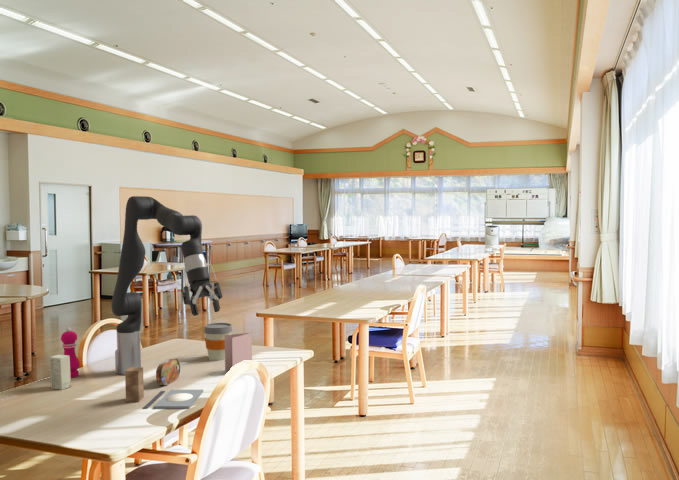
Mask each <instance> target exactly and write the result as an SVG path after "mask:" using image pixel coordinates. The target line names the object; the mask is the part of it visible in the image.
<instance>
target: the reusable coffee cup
mask: <svg viewBox="0 0 679 480" xmlns="http://www.w3.org/2000/svg"><path fill="white" fill-rule="evenodd" d="M203 332H204V336H205V337H204V341H205V348H206V349H207V355H208V360H210V361H222V360H221V359H225V335H231V334H232V332H233V326H232V323H227V322H214V323H213V322H212V323H208V324H205V325H204V331H203Z"/></svg>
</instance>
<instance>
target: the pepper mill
mask: <svg viewBox="0 0 679 480" xmlns="http://www.w3.org/2000/svg"><path fill="white" fill-rule="evenodd" d="M60 340H61V342H62V348H63V355H69V356H70V374H71V379H73V378H76V377H78V376H79V374H80V373H79V370H78V369H79V368H80V360H79V358H78V356H77V355H76V349H75V348H76V347H77V342H76V341H77V340H78V335H77V333H76V332H75V331H73V330H72V328H71V327H67V328H66V331H64V332H63V333H62V334H61V336H60Z"/></svg>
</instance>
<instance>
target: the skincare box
mask: <svg viewBox="0 0 679 480" xmlns="http://www.w3.org/2000/svg"><path fill="white" fill-rule="evenodd" d="M49 371H50V373H49V374H50V389H55V390H64V389H65V390H66V389H68V388H70V387H72V378H71V374H70V356H69V355H64V354H59V353H58V354H56V355H52V356H49Z"/></svg>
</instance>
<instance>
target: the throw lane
mask: <svg viewBox="0 0 679 480" xmlns="http://www.w3.org/2000/svg"><path fill="white" fill-rule="evenodd" d="M165 392H166V391H165V390H160V391H159V392H158V393H157V394H156V395H155V396H154V397H152V399H151V400H149V401H148V402H147V403H146V404H145V405H144V406H143V407H142V410H143V409H144V410H145V409H149V407H151V406H152V405H153V404H155V402H156V401H157V400H158V399H159V398H160V397H161V396H163V394H165ZM203 393H204V389H170V390H169V391H168V392H167V393H166V394H165V395H164V396H163V397H162V398H160V400H158V401H157V402H156V404H155V405H154V406H153V409H160V410H161V409H162V410H163V409H164V410H165V409H166V410H167V409H168V410H169V409H172V410H173V409H176V410H177V409H182V410H184V409H185V410H186V409H189V410H190V408H192V406H193V404H195V402H196V401H197V400H198V399H199V398H200V396H201V395H202V394H203Z"/></svg>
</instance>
